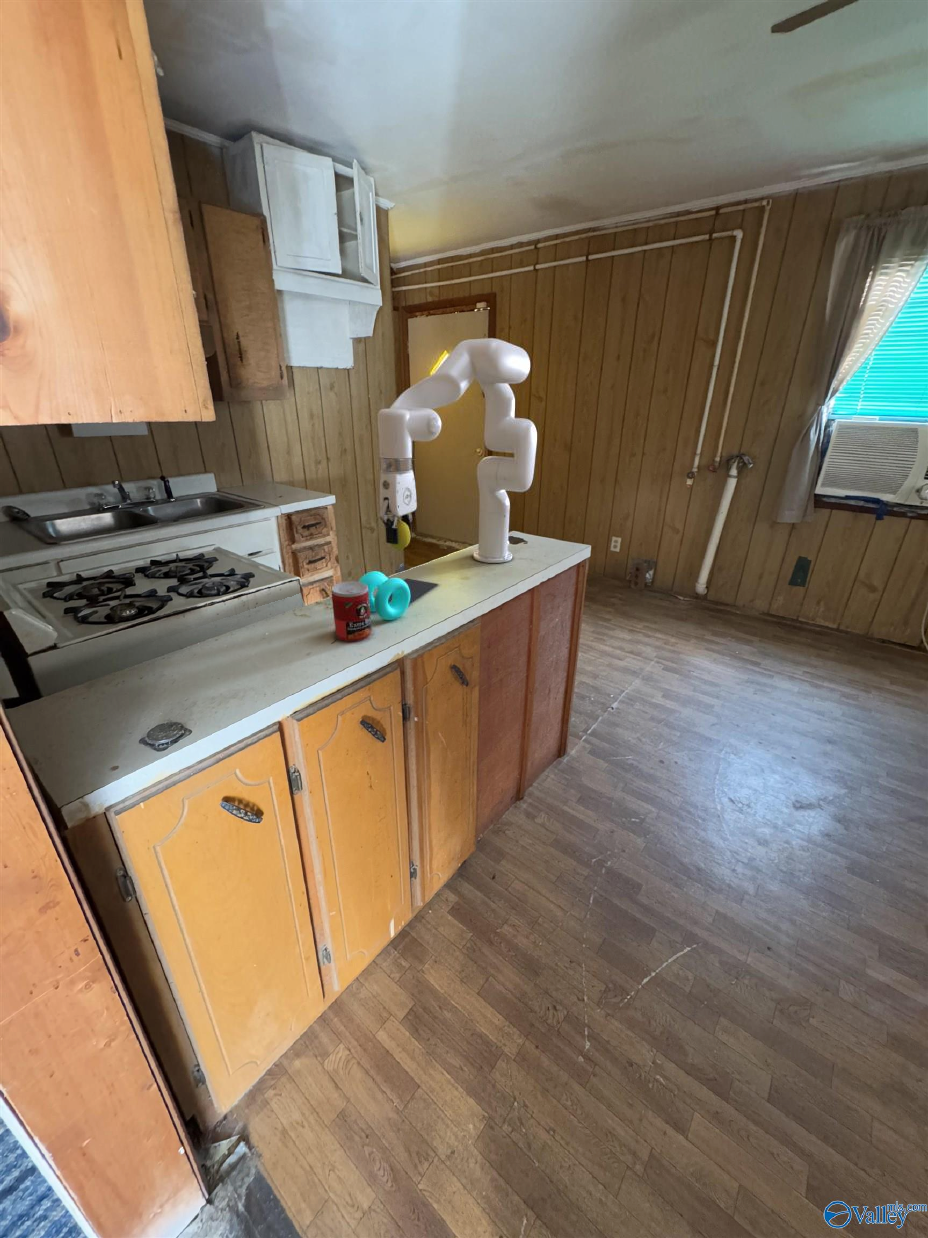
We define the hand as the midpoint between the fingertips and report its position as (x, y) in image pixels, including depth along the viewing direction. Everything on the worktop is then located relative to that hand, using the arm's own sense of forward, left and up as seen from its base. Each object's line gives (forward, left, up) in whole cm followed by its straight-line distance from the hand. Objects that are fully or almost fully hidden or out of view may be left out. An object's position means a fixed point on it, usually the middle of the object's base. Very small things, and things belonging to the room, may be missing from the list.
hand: (399, 539), depth 125 cm
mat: (-3, 0, -15) cm, 15 cm away
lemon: (0, 0, -3) cm, 3 cm away
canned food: (+24, +3, -15) cm, 29 cm away
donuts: (+12, +3, -15) cm, 20 cm away
